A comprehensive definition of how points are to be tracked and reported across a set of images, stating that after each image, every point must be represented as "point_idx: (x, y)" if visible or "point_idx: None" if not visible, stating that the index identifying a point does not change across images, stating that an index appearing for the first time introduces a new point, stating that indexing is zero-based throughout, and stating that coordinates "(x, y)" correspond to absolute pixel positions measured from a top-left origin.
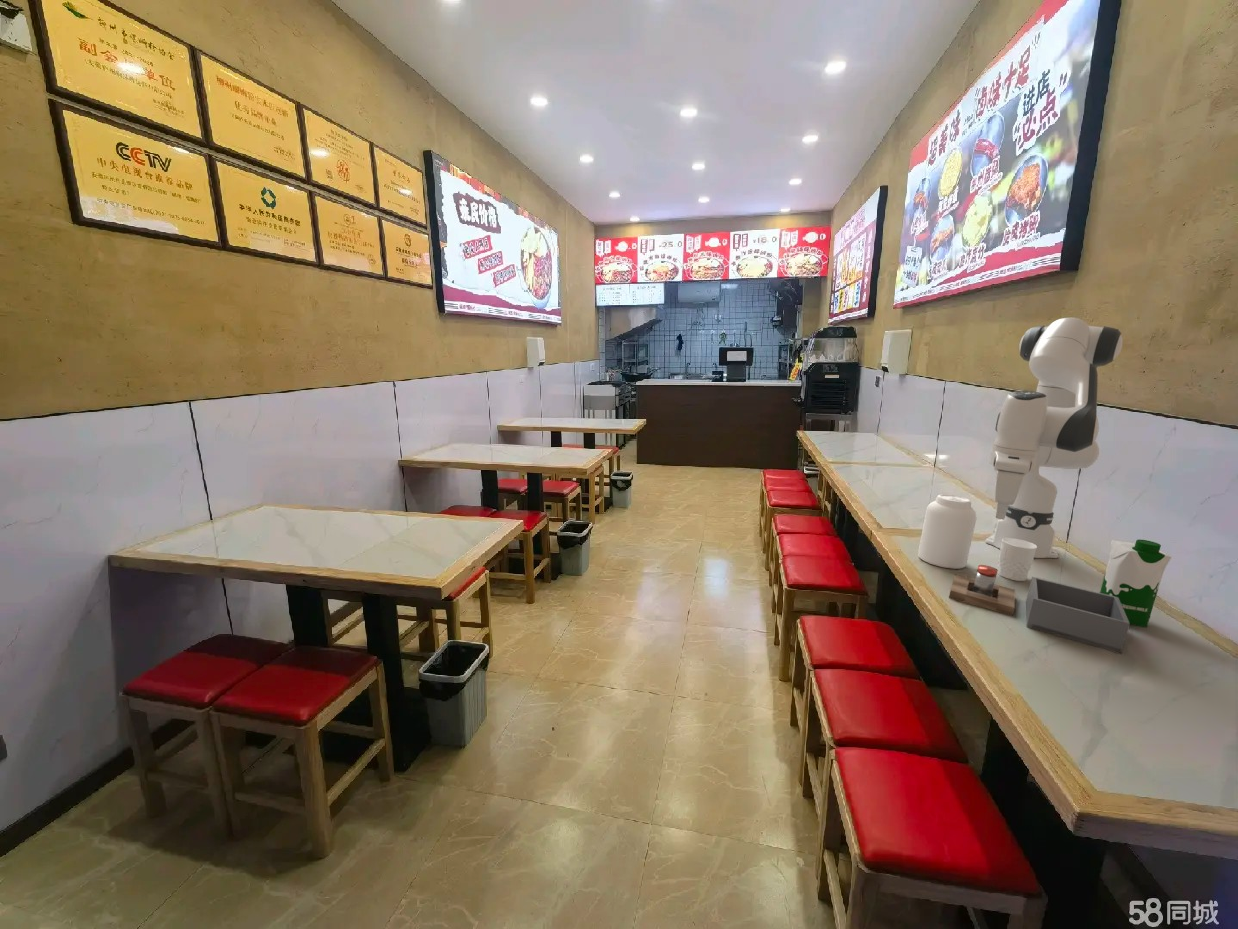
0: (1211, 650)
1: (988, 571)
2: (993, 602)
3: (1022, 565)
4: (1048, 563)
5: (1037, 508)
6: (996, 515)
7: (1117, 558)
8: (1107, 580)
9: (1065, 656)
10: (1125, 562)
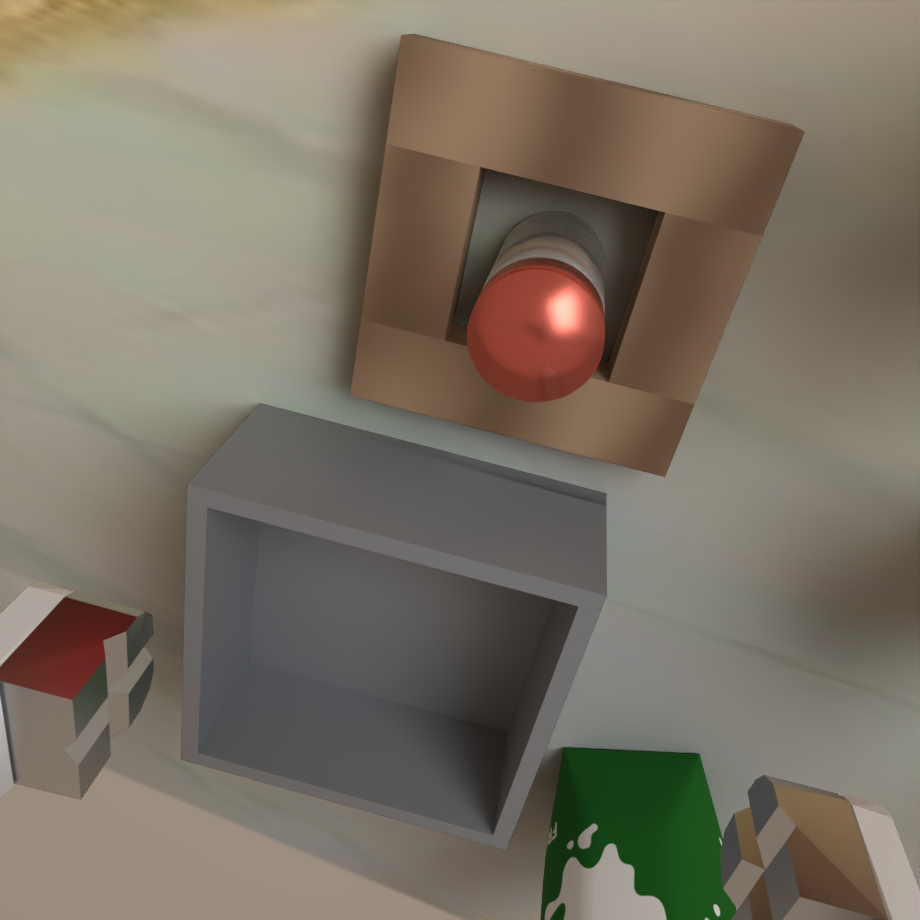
0: (472, 899)
1: (468, 328)
2: (364, 299)
3: None
4: None
5: None
6: (8, 612)
7: None
8: (632, 900)
9: (62, 466)
10: None
